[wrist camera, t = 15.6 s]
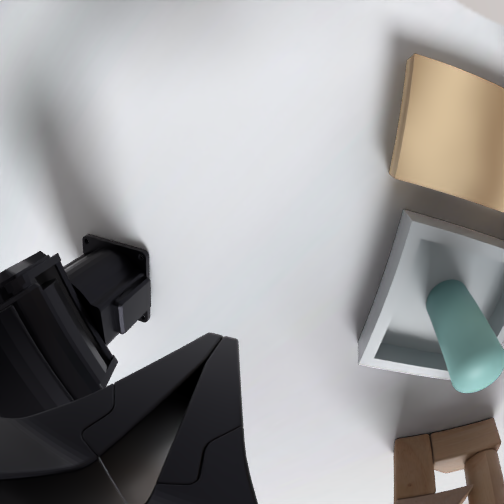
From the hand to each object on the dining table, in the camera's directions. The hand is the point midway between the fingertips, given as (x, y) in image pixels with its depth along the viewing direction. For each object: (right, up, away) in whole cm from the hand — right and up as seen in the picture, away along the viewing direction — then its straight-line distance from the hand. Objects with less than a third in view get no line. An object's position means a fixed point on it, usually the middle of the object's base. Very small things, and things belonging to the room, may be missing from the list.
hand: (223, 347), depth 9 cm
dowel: (+14, -1, +9) cm, 17 cm away
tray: (+14, 0, +10) cm, 17 cm away
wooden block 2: (+20, -16, +15) cm, 30 cm away
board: (+14, +9, +6) cm, 18 cm away
